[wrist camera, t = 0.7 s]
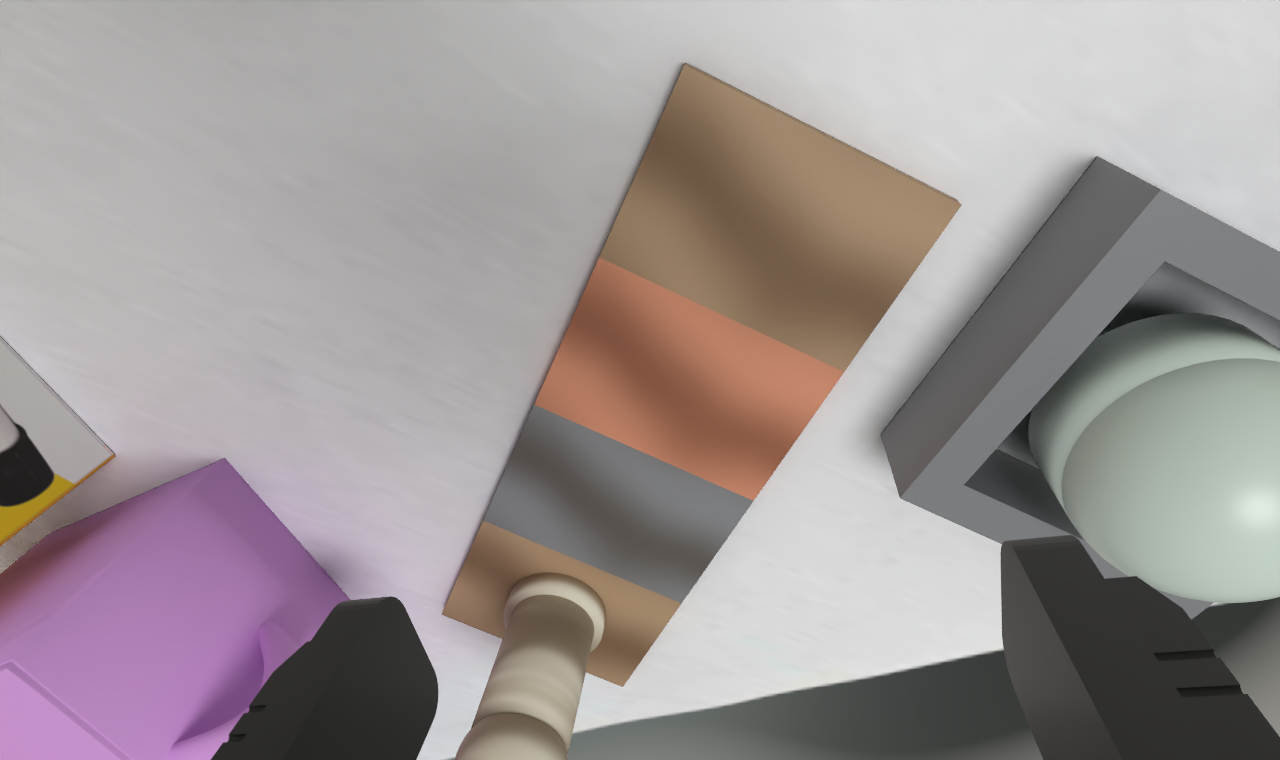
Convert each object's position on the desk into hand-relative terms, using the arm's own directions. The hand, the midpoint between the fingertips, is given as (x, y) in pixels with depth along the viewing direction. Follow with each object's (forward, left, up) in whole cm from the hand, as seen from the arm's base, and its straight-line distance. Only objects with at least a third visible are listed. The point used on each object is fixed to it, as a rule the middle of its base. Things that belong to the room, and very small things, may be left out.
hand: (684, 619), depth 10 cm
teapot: (+31, -14, -18) cm, 39 cm away
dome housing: (-1, +16, -18) cm, 24 cm away
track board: (+10, +2, -18) cm, 21 cm away
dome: (-1, +16, -16) cm, 23 cm away
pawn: (+21, +2, -18) cm, 27 cm away
